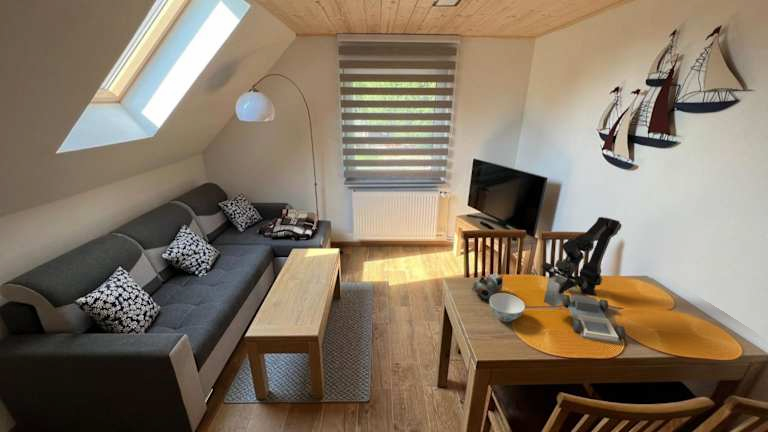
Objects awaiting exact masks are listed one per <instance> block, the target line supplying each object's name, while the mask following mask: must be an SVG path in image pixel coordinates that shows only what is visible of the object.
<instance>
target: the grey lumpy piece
mask: <svg viewBox="0 0 768 432" xmlns="http://www.w3.org/2000/svg"><path fill="white" fill-rule="evenodd" d="M503 281H504V280H503V275H502V274H501V275H499V274H497V273H493V274H489V275H487V278H486V279H485V277H484V275H482V276H480V279H478V280H475V281H474V283H473V285H472V286H473V287H471V291H473V292H474V293H476V294H477V295H478V296H480V297H481V298H483V299H484V300H486V301H487V300H488V301H489V302H490V297H491V296H492V295H494V294H498V293H499V292H500V291H501V290H503V286H504V282H503Z"/></svg>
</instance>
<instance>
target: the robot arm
mask: <svg viewBox="0 0 768 432" xmlns="http://www.w3.org/2000/svg"><path fill="white" fill-rule="evenodd" d="M621 228H622V223H621V222H620V220H616V219H613V218H609V217H604V216H599V217H598V218H597V220H596V221H595V223H593V225H592V226H591V227H590V228H589V229H588V230H587V231H586V232H585V233H581V234H579V235H577V236H576V237H575V238H571V240H568V241H565V242H563V244H562V250H563V251H564V253H565V254H566V257H565V258H563V259H562V260H559V259H557V260H556V262H555V265H554V264H551V263H549V262H546V261H545V262H543V263H542V264H541V268H542V269H543V271H544V272H546V273H548V279H549V278H551V277H553V276H555V275H556V274H558V275H560V276H563V277H565V278H567V279H566V280H567V281H566V283H565V285H564V286H563V287H562V289H561V290H560V292H559V294H562V293H563V292H564V293H565V292H566V291H567V290H570V289H571V288H577V287H578V288H579V291H580V292H581V294H584V295H592V296H593V295H594V296H597V293H596V291H595V290H596V286H601V284H602V282H603V277H602V275H601V274H602V269H601V262H602V261H603V258H604V255H605V254H606V251H607V248H608V246H609V244H610V241H611V239H612V238H614V237H615V236H616V235H618V232H619V231H621ZM596 240H597V242H596ZM594 242H596V245H594V244H595V243H594ZM591 251H592V254H591V256H590V259H589V261H588V262H586V263H584V264H583V265H582V267H581V269H580V270H579V275H575V276H574V274H575V271H577V270H578V267H579V265H580V263H581V261H582V260H584V259H585V255H584V253H587V254H588V253H590V252H591ZM583 252H584V253H583ZM565 275H566V276H565Z"/></svg>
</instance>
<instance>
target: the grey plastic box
mask: <svg viewBox="0 0 768 432" xmlns="http://www.w3.org/2000/svg"><path fill="white" fill-rule="evenodd" d="M566 281H567V279H564V278H562V277H560V276H557V275H555V276H553V277H551V278H549V277H548V279H547V284H546V290H545V294H544V300H543V302H544V303H546V304H547V305H549V306H551V307H552V308H555V307H557V306H559V305H560V304H563V303H562V299H563V295H565V292H563V293H562V294H559V292H560V290H561V289H562V287H563V286H564V285H565V283H566Z"/></svg>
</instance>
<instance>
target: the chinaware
mask: <svg viewBox="0 0 768 432" xmlns="http://www.w3.org/2000/svg"><path fill="white" fill-rule="evenodd" d="M489 305H490V308H491V311H492V313H493V314H494V315H495V316H496V317H497V319H499V320H500V321H502V322H504V323H507V322H511V321H514V320H516V319H519V318H520V317H521V316H522V315H523V313H524V311H525V309H526V305H525V303H524V301H523V300H522V299H520V298H519V297H517V296H515V295H513V294H509V293H504V292H503V293H501V292H500V293H499V292H497V294H494V295H492V296H491V297H490V301H489Z"/></svg>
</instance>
